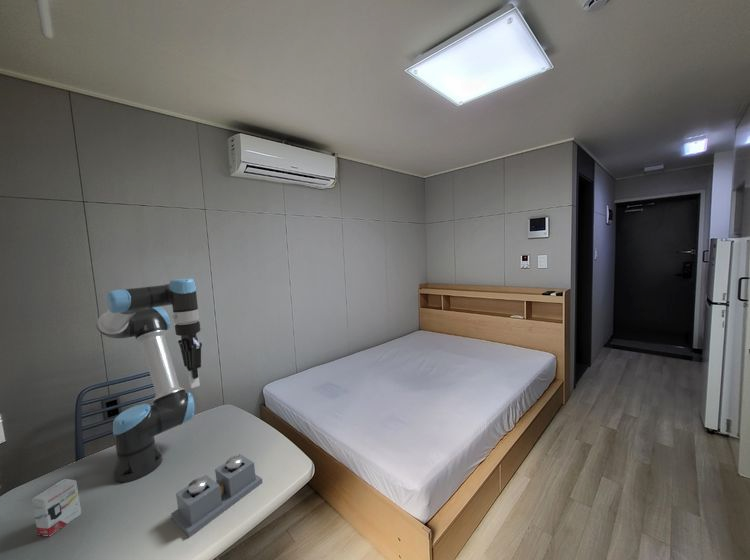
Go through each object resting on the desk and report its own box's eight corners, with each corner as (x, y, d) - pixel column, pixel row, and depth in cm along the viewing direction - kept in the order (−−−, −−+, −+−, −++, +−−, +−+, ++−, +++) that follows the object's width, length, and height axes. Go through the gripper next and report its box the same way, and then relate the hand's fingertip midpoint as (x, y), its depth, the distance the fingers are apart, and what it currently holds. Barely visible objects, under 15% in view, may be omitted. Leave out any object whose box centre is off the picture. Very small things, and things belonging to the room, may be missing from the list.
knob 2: (225, 483, 104) (223, 462, 103) (239, 474, 108) (236, 453, 107) (233, 489, 101) (230, 467, 100) (247, 480, 105) (244, 458, 104)
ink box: (49, 537, 89) (42, 501, 88) (37, 535, 90) (30, 499, 89) (82, 513, 97) (76, 479, 96) (70, 511, 98) (65, 477, 97)
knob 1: (188, 509, 94) (185, 485, 93) (204, 498, 98) (201, 475, 97) (195, 516, 91) (192, 492, 90) (212, 504, 95) (209, 481, 94)
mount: (171, 518, 93) (168, 494, 92) (243, 470, 113) (241, 450, 112) (189, 537, 86) (186, 512, 86) (262, 482, 106) (260, 461, 105)
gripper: (167, 323, 107) (175, 386, 109) (183, 326, 99) (192, 394, 101) (190, 318, 113) (197, 379, 115) (207, 321, 105) (214, 386, 107)
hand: (194, 386), depth 108 cm, fingers closed
